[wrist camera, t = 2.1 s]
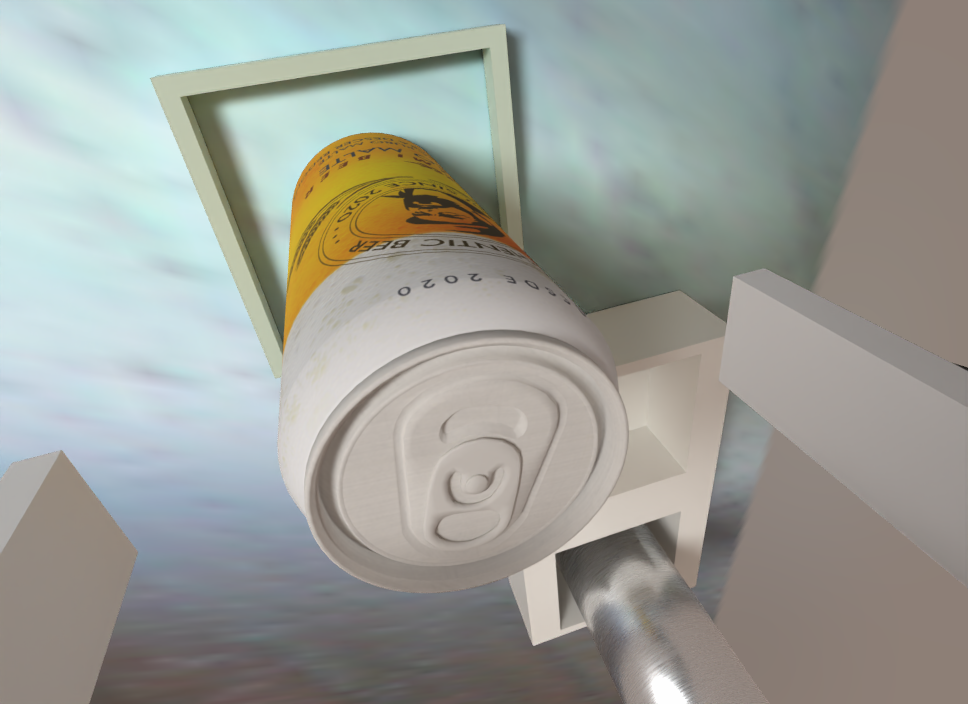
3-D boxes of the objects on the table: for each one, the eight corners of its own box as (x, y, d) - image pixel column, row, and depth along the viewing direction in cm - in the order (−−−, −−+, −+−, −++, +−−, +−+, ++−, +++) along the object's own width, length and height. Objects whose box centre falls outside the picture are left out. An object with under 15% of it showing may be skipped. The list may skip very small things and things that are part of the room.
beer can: (459, 138, 20) (700, 312, 8) (442, 285, 23) (600, 580, 11) (289, 119, 18) (261, 310, 6) (294, 283, 21) (283, 635, 9)
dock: (472, 343, 25) (501, 398, 21) (679, 290, 27) (739, 332, 23) (509, 581, 36) (533, 645, 32) (657, 530, 37) (695, 586, 34)
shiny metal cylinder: (542, 504, 32) (679, 777, 20) (631, 475, 32) (809, 721, 21) (547, 563, 35) (668, 829, 23) (628, 536, 36) (782, 777, 24)
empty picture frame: (157, 75, 17) (150, 78, 16) (496, 24, 19) (505, 24, 18) (276, 365, 23) (275, 378, 22) (521, 304, 25) (529, 314, 24)
